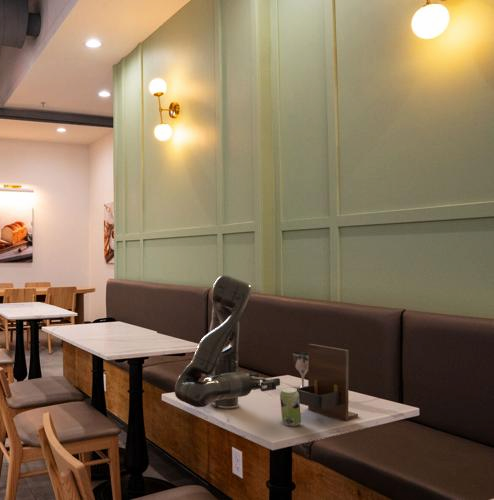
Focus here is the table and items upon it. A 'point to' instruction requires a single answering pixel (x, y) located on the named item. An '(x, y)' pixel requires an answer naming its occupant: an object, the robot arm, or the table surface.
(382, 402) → the table surface
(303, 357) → the wine glass
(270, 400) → the table surface
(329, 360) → the wooden backboard stand
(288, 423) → the beverage can
